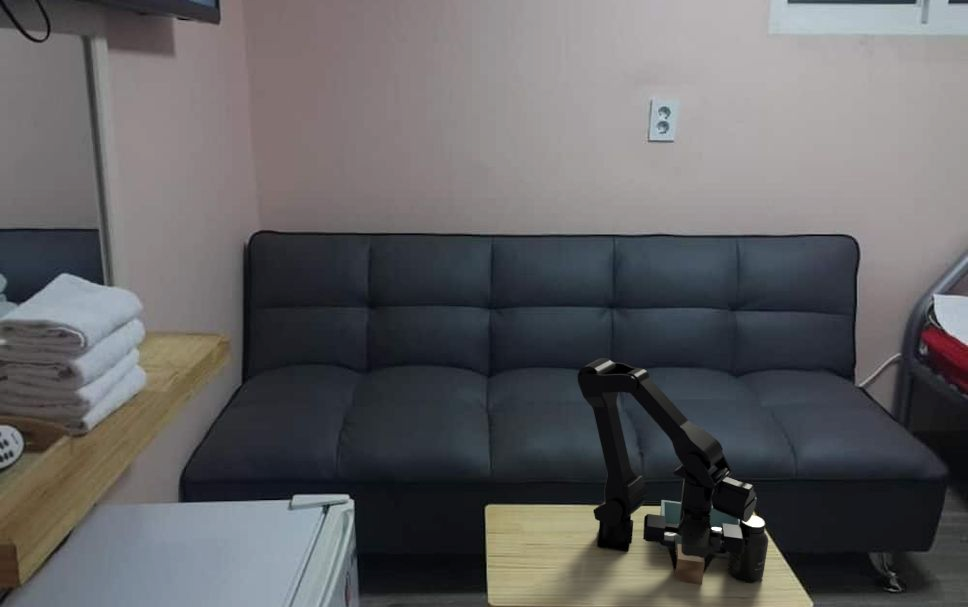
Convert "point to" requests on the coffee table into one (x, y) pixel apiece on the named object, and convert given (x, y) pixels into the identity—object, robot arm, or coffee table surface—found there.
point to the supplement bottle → (750, 552)
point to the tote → (673, 513)
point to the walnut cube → (688, 567)
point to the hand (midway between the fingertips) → (688, 570)
